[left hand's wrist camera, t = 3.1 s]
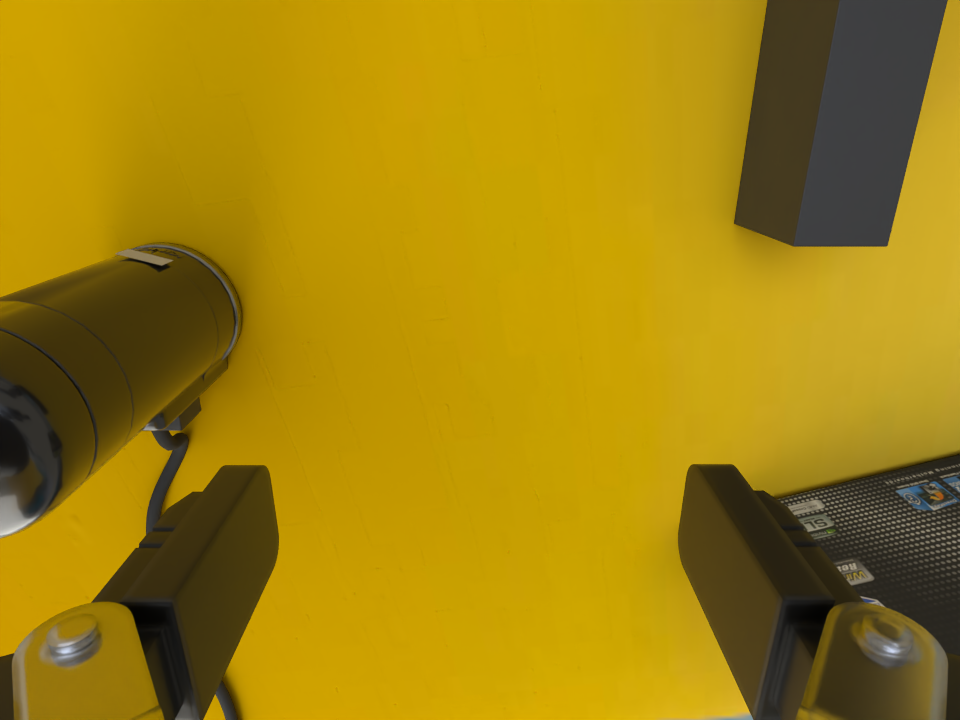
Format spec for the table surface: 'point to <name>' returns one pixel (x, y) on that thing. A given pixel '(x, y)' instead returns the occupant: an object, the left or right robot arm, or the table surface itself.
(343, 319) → the table surface
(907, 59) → the bar
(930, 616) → the box
